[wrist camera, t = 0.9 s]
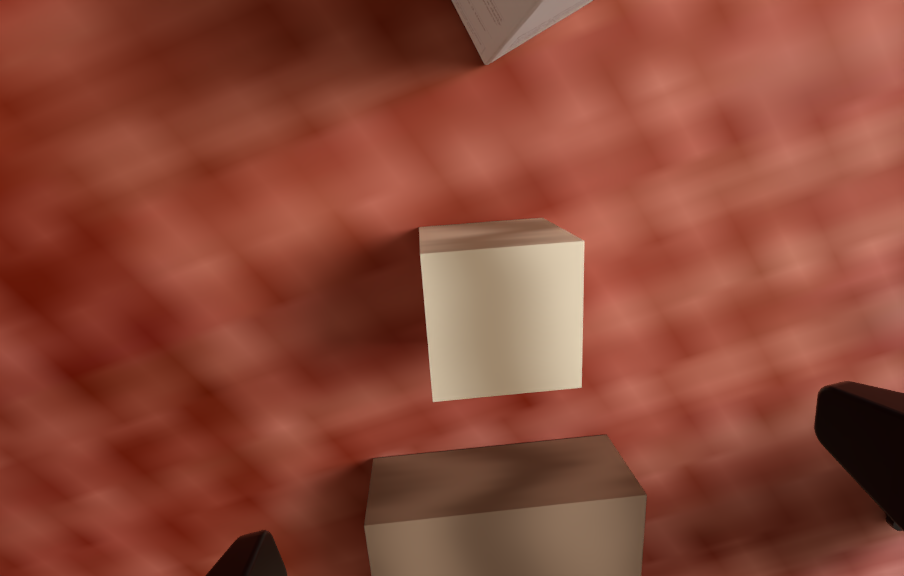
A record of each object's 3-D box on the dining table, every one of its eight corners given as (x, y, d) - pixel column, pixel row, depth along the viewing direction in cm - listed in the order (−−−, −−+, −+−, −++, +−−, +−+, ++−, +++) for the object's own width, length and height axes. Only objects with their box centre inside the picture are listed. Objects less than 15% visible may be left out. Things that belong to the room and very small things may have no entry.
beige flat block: (606, 434, 22) (646, 494, 18) (600, 609, 25) (632, 691, 21) (373, 458, 21) (364, 525, 18) (396, 634, 25) (393, 723, 21)
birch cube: (541, 217, 19) (584, 240, 14) (542, 331, 20) (581, 387, 16) (418, 226, 19) (420, 254, 14) (428, 341, 20) (432, 402, 15)
